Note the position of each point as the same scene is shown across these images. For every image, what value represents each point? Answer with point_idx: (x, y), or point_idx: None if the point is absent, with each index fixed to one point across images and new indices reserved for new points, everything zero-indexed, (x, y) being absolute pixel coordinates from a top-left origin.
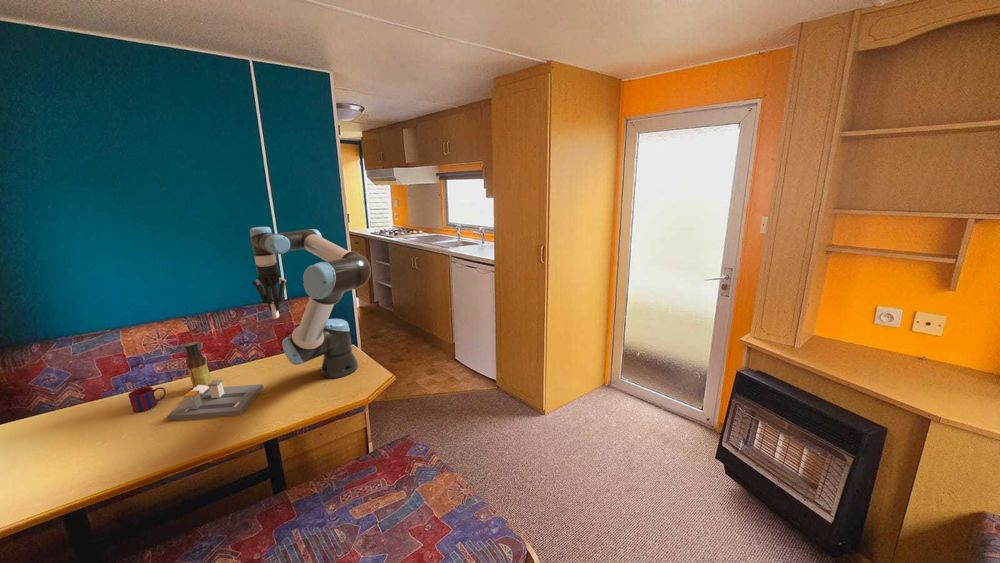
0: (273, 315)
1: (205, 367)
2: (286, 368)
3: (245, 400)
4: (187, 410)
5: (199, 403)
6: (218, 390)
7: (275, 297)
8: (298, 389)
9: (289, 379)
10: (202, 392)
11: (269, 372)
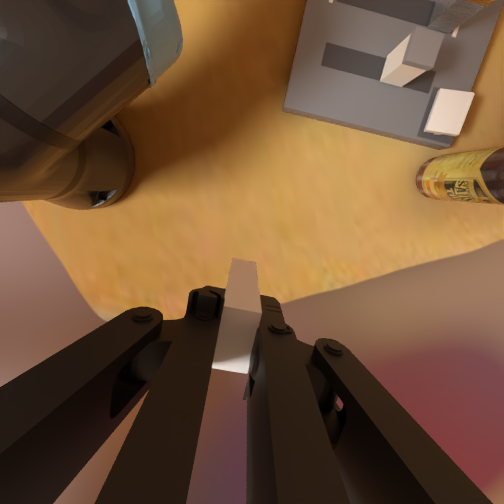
0: (250, 268)
1: (470, 167)
2: (241, 221)
3: (314, 6)
4: None
5: (438, 7)
6: (400, 43)
7: (175, 357)
8: (182, 63)
9: (220, 144)
10: (439, 91)
11: (282, 211)
